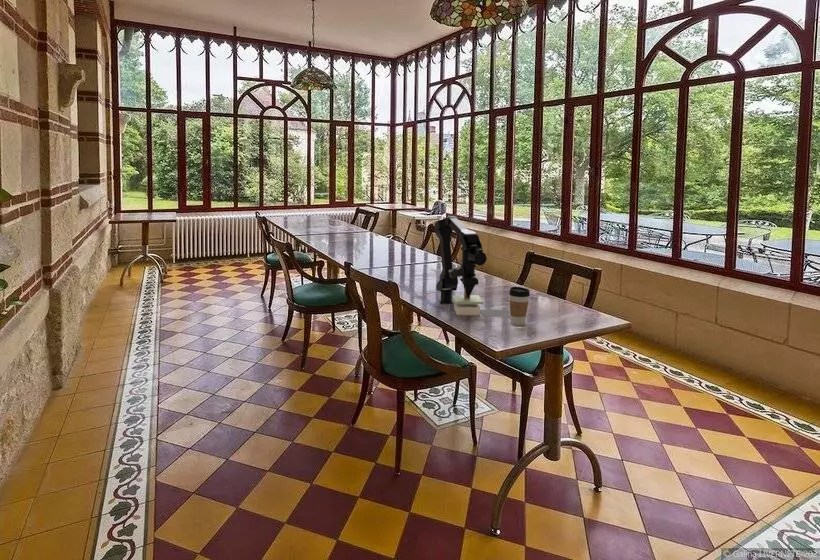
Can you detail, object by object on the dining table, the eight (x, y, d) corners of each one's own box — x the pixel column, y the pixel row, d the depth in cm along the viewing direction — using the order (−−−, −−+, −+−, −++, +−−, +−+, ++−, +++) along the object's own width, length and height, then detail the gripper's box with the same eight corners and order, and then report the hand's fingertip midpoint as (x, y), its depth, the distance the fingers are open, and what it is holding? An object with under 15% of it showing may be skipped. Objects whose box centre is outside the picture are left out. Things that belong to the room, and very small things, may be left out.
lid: (451, 297, 242) (452, 285, 241) (478, 297, 242) (478, 285, 241) (455, 303, 230) (455, 291, 229) (483, 303, 231) (483, 291, 229)
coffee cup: (515, 319, 228) (516, 285, 225) (532, 323, 223) (534, 288, 219) (503, 323, 223) (505, 288, 220) (520, 327, 217) (522, 291, 214)
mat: (478, 310, 242) (478, 309, 242) (504, 310, 243) (504, 309, 243) (482, 317, 231) (482, 316, 231) (510, 317, 231) (510, 316, 231)
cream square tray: (454, 310, 242) (454, 301, 241) (475, 310, 242) (476, 301, 242) (457, 316, 232) (457, 307, 231) (479, 316, 233) (480, 307, 232)
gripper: (447, 257, 241) (446, 291, 244) (452, 265, 223) (451, 301, 226) (472, 258, 242) (470, 291, 245) (479, 265, 224) (477, 301, 227)
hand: (467, 296), depth 236 cm, fingers closed on lid, 3 cm apart
